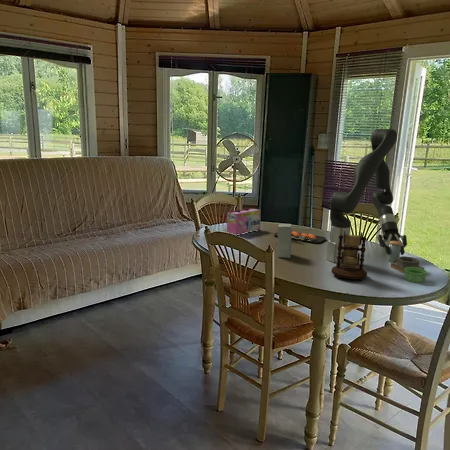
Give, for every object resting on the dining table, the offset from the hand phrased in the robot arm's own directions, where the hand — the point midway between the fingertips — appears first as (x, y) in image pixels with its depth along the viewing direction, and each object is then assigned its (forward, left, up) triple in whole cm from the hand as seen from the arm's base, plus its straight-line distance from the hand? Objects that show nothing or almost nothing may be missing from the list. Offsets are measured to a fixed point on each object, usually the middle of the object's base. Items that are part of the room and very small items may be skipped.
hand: (395, 254), depth 197 cm
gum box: (-48, +76, -5) cm, 90 cm away
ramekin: (-9, -22, -5) cm, 24 cm away
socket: (-2, -10, -4) cm, 12 cm away
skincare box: (-47, +25, -4) cm, 54 cm away
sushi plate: (-27, +50, -5) cm, 57 cm away
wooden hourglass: (-34, -10, -5) cm, 36 cm away
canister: (+1, +2, -4) cm, 5 cm away
